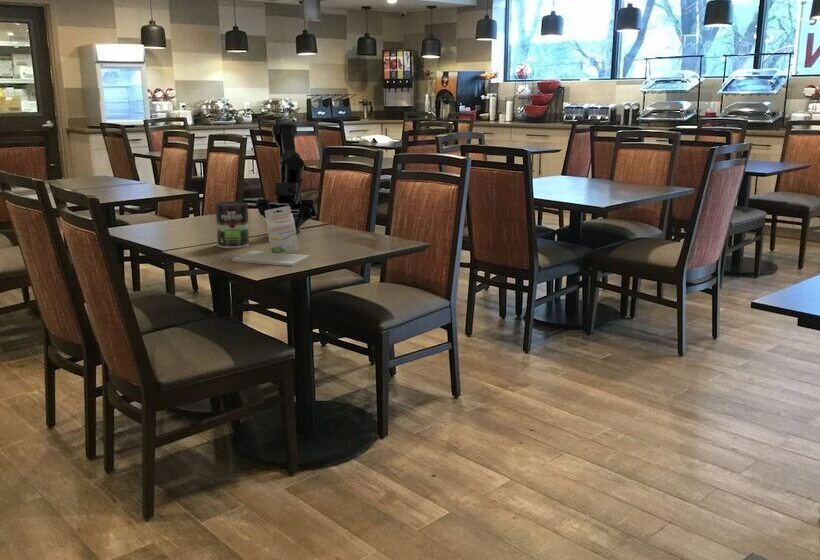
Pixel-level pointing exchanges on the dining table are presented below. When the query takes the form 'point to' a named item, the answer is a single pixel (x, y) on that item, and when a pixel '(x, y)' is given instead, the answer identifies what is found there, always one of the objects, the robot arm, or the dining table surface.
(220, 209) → the coffee can
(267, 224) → the ink box
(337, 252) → the dining table surface
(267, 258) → the mat
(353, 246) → the dining table surface
